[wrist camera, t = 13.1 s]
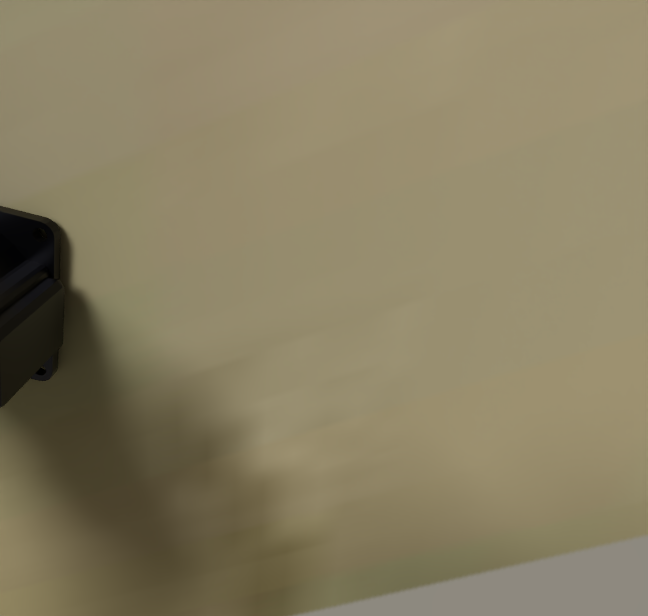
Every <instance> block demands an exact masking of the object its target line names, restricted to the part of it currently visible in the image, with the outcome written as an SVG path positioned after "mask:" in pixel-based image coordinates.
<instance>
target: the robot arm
mask: <svg viewBox="0 0 648 616" xmlns="http://www.w3.org/2000/svg"><path fill="white" fill-rule="evenodd" d="M39 228H41V229H43V230H44V231H45V232H46V234H47V238H44V237H43V236H42V235H41V234H40V233H39ZM63 321H64V286H63V284H62V282H61V281H60V230H59V228H58V226H57V224H56V223H55V222H53V221H52V220H51V219H48V218H46V217H42V216H38V215H34V214H30V213H26V212H23V211H19V210H15V209H11V208H7V207H3V206H0V408H1V407H3V406H4V405H5V404H6V403H7V402H8V401H9V400H10V399H11V398H12V397H13V396H14V395H15V393H16V392H17V391H18V390H19V389H20V388H21V387H22V386H23V385H24V384H25V383H26V382H27V381H28V380H29V379H30V378H32V379H35V380H40V381H46V380H49V379H50V378H51V377H52V376H53V375H54V373H55V372H56V371H57V368H58V349H59V348H60V347H61V346H62V344H63ZM42 366H44V368H45V369H46V370H45V369H43V368H41V367H42Z"/></svg>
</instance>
